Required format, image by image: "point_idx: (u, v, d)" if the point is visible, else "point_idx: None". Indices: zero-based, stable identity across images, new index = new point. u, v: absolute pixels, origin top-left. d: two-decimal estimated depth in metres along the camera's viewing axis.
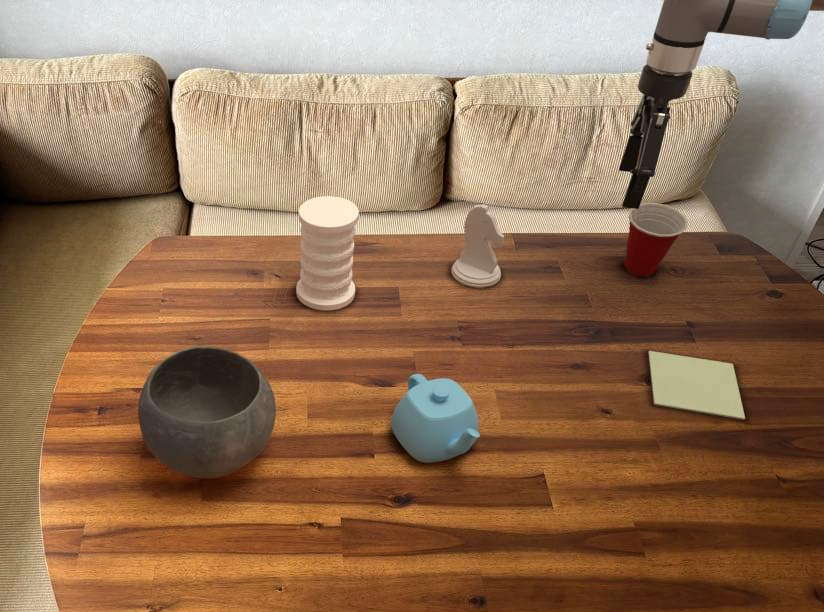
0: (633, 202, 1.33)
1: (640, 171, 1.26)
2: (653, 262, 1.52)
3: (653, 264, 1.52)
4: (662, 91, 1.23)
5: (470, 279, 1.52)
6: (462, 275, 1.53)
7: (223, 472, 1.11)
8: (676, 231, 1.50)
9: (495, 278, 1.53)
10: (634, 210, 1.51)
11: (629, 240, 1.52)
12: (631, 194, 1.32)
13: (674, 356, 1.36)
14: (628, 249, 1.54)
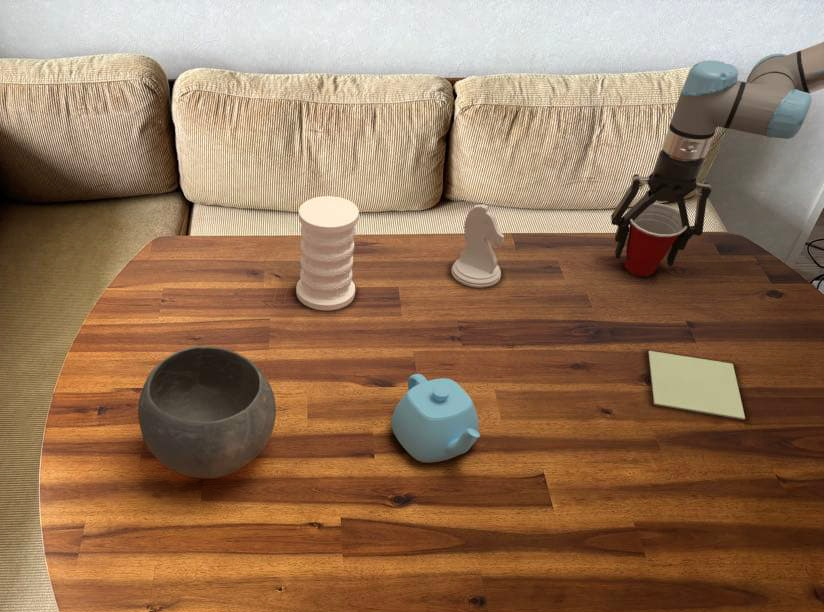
0: None
1: None
2: (653, 262, 1.52)
3: (653, 264, 1.52)
4: None
5: (470, 279, 1.52)
6: (462, 275, 1.53)
7: (223, 472, 1.11)
8: (676, 231, 1.50)
9: (495, 278, 1.53)
10: None
11: (629, 240, 1.52)
12: None
13: (674, 356, 1.36)
14: (628, 249, 1.54)
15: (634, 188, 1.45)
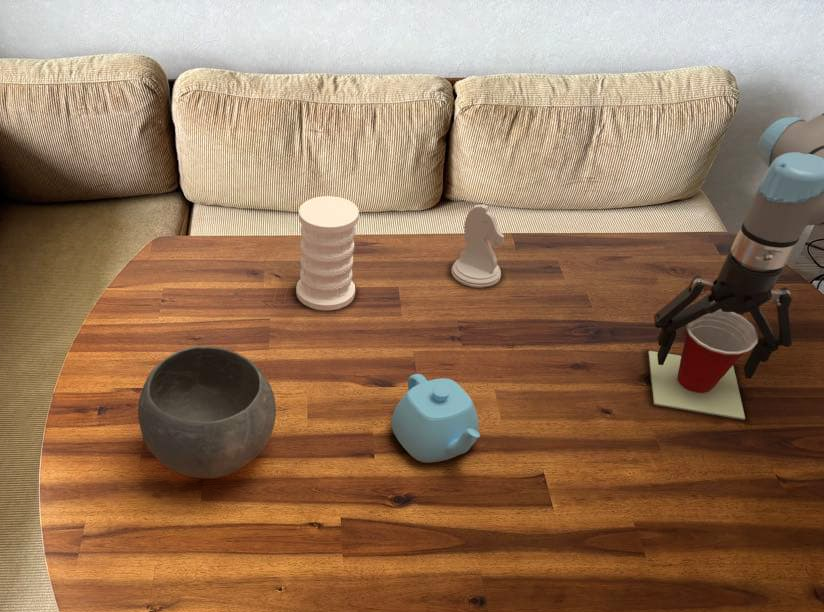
0: None
1: (791, 342, 1.21)
2: (714, 379, 1.26)
3: (714, 381, 1.27)
4: None
5: (470, 279, 1.52)
6: (462, 275, 1.53)
7: (223, 472, 1.11)
8: (742, 343, 1.25)
9: (495, 278, 1.53)
10: None
11: (685, 352, 1.27)
12: None
13: (674, 356, 1.36)
14: (683, 361, 1.28)
15: (694, 292, 1.19)
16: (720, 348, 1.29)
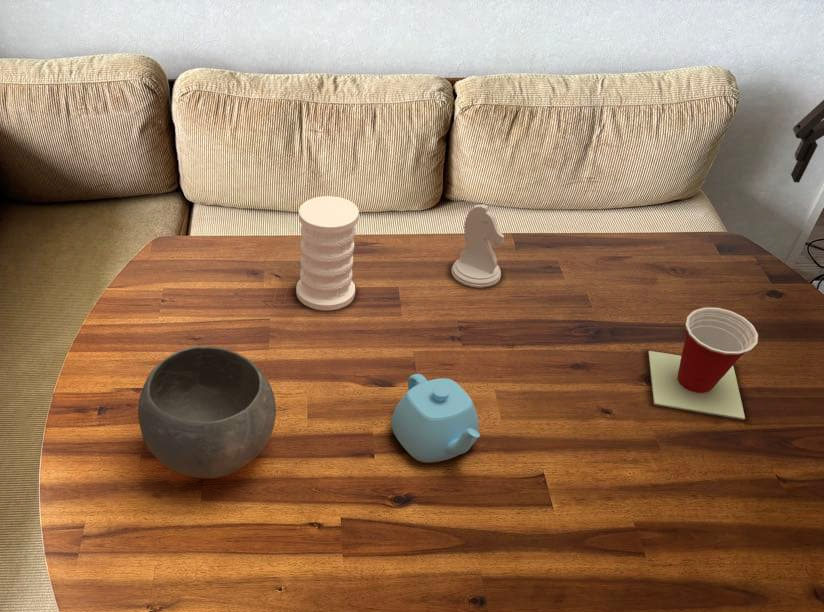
0: None
1: None
2: (714, 379, 1.26)
3: (714, 381, 1.27)
4: None
5: (470, 279, 1.52)
6: (462, 275, 1.53)
7: (223, 472, 1.11)
8: (742, 343, 1.25)
9: (495, 278, 1.53)
10: (692, 317, 1.26)
11: (685, 352, 1.27)
12: None
13: (674, 356, 1.36)
14: (683, 361, 1.28)
15: None
16: (720, 348, 1.29)
